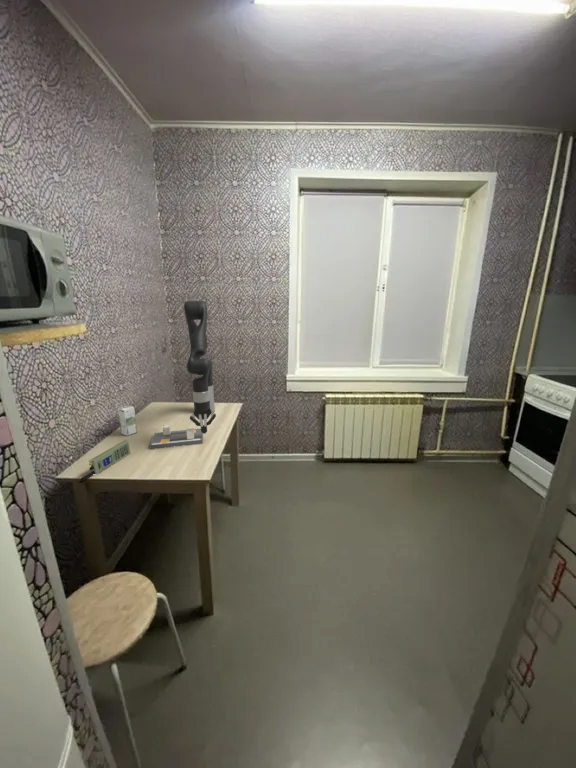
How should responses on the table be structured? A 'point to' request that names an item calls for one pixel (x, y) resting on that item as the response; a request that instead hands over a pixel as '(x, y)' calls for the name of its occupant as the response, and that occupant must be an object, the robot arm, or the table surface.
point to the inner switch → (166, 430)
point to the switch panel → (175, 439)
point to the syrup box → (127, 420)
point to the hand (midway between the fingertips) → (204, 432)
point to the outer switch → (190, 433)
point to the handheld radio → (108, 458)
